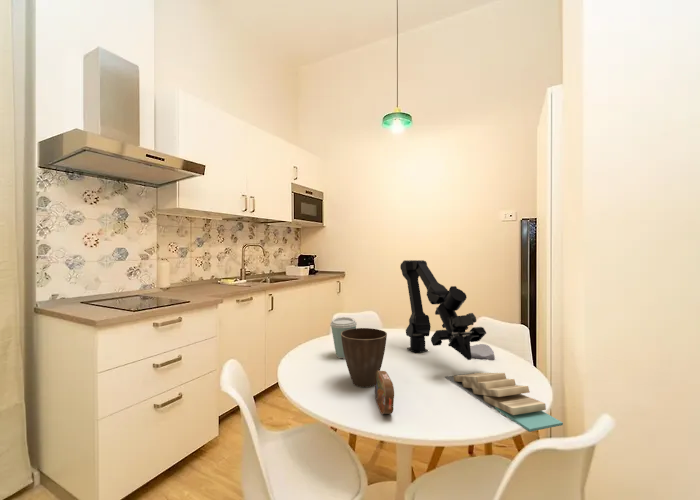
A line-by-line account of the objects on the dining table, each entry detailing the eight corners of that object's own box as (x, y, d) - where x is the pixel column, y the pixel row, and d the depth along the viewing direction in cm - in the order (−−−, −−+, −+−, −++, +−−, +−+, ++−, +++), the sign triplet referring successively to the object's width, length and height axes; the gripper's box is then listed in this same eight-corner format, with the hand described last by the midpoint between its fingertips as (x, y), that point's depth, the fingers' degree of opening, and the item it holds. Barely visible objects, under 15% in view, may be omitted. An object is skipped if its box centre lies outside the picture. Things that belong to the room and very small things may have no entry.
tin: (373, 394, 93) (373, 365, 93) (384, 393, 94) (384, 365, 94) (383, 421, 78) (383, 387, 78) (395, 420, 78) (395, 387, 79)
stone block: (497, 365, 122) (487, 352, 132) (497, 354, 121) (488, 341, 131) (465, 365, 123) (459, 352, 133) (466, 354, 122) (459, 342, 132)
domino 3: (472, 388, 92) (497, 390, 83) (500, 384, 95) (528, 386, 85) (473, 394, 92) (498, 396, 82) (502, 390, 94) (529, 392, 85)
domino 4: (483, 394, 88) (512, 408, 77) (512, 390, 90) (545, 403, 80) (483, 400, 88) (513, 415, 77) (513, 396, 90) (545, 409, 80)
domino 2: (462, 381, 97) (485, 383, 87) (489, 378, 100) (514, 378, 90) (463, 387, 97) (486, 389, 87) (490, 383, 99) (515, 385, 89)
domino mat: (443, 377, 105) (443, 376, 105) (474, 373, 108) (474, 372, 108) (490, 409, 84) (490, 408, 84) (526, 403, 87) (526, 401, 87)
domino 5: (495, 406, 83) (529, 429, 73) (525, 401, 86) (562, 422, 76) (495, 412, 83) (529, 435, 73) (525, 407, 86) (562, 429, 76)
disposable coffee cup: (356, 361, 121) (356, 322, 121) (329, 360, 121) (329, 322, 121) (356, 352, 132) (356, 316, 132) (331, 352, 132) (331, 316, 132)
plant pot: (331, 381, 102) (331, 332, 102) (365, 370, 112) (365, 325, 112) (362, 397, 91) (362, 342, 91) (396, 383, 100) (396, 333, 100)
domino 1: (453, 376, 101) (476, 376, 91) (479, 372, 104) (504, 372, 93) (454, 381, 101) (477, 382, 90) (480, 377, 104) (506, 378, 93)
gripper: (435, 306, 104) (455, 349, 93) (482, 303, 109) (506, 344, 98) (423, 324, 111) (440, 366, 101) (468, 321, 116) (489, 361, 106)
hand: (469, 359), depth 101 cm, fingers closed
